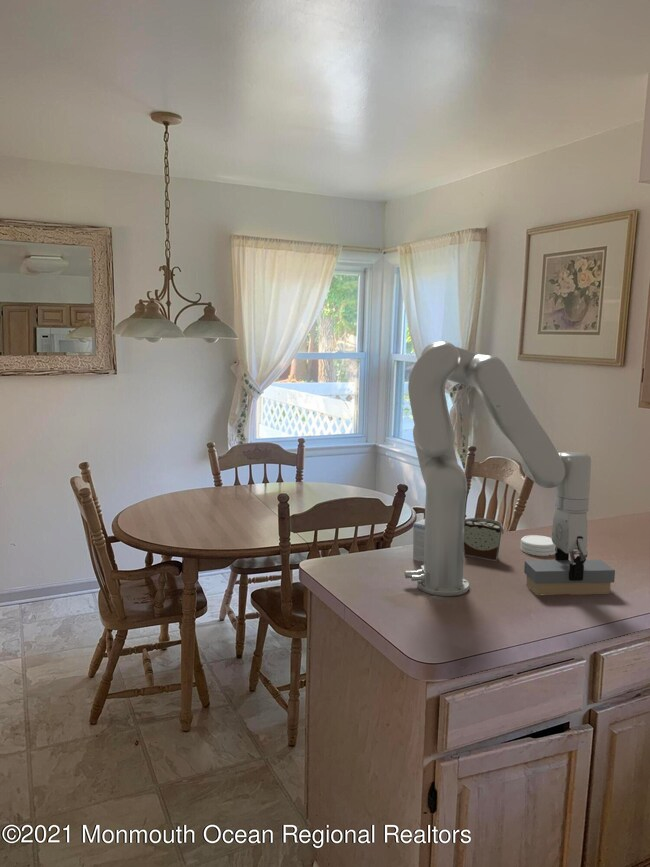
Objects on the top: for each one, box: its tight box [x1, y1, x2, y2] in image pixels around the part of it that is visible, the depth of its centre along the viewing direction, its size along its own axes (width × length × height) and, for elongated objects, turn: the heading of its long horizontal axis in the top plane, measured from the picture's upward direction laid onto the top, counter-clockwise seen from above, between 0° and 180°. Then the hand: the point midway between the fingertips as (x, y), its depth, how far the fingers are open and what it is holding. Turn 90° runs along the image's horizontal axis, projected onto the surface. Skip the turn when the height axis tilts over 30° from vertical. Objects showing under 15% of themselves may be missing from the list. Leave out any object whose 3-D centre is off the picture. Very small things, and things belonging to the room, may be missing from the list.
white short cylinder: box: [520, 534, 556, 557], centre depth 183 cm, size 10×10×4 cm
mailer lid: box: [523, 559, 616, 584], centre depth 154 cm, size 19×8×3 cm, turn 92°
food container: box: [464, 517, 505, 562], centre depth 179 cm, size 12×6×10 cm, turn 58°
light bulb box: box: [412, 518, 425, 563], centre depth 177 cm, size 11×7×11 cm, turn 141°
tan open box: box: [526, 575, 612, 596], centre depth 154 cm, size 18×6×6 cm, turn 93°
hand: (568, 573), depth 154 cm, fingers closed on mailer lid, 7 cm apart
